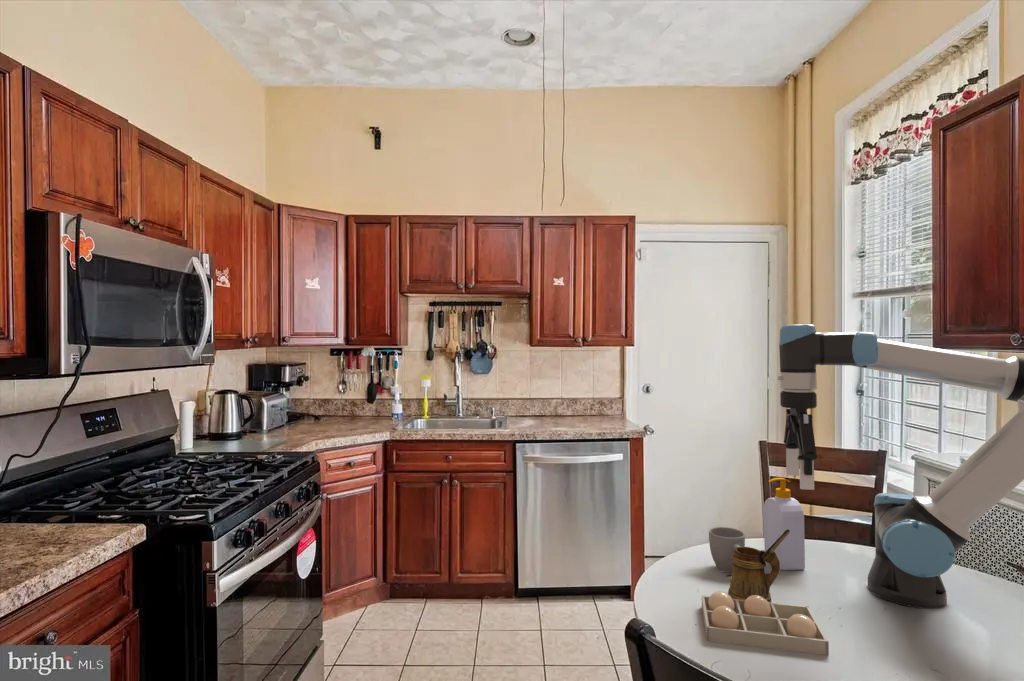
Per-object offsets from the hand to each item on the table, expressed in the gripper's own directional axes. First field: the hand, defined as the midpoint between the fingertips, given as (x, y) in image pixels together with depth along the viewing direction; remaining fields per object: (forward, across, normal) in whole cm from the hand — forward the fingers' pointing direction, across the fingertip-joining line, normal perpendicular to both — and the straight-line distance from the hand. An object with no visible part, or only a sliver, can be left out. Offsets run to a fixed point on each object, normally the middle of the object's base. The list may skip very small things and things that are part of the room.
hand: (799, 482), depth 128 cm
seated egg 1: (+26, +16, -19) cm, 36 cm away
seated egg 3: (+26, +22, -5) cm, 35 cm away
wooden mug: (+27, +5, -10) cm, 29 cm away
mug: (+27, -12, -14) cm, 33 cm away
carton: (+27, +19, -12) cm, 35 cm away
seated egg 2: (+26, +22, -19) cm, 39 cm away
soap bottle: (+27, -21, 0) cm, 34 cm away
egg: (+26, +16, -12) cm, 33 cm away
